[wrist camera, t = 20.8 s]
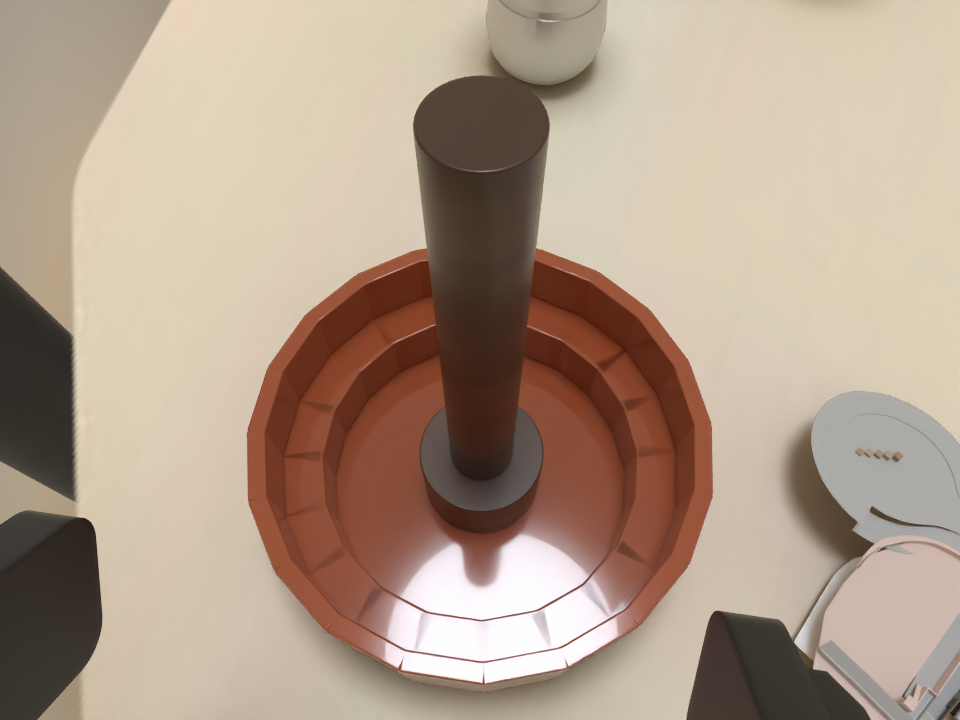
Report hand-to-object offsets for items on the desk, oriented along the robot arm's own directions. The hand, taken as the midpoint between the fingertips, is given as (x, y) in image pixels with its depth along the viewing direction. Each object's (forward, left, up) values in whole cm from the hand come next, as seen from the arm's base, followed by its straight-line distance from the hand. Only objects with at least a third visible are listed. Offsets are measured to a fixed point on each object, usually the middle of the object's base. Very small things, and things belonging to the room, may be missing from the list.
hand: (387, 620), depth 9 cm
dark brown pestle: (0, +7, -17) cm, 18 cm away
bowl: (0, +8, -17) cm, 19 cm away
